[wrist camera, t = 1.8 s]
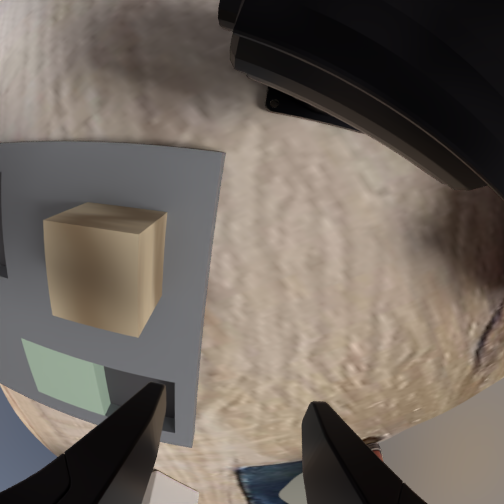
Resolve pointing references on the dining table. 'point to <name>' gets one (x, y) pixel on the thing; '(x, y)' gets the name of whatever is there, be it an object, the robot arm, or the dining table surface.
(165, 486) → the milk carton
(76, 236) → the maple block
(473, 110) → the robot arm
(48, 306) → the board
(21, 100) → the dining table surface
